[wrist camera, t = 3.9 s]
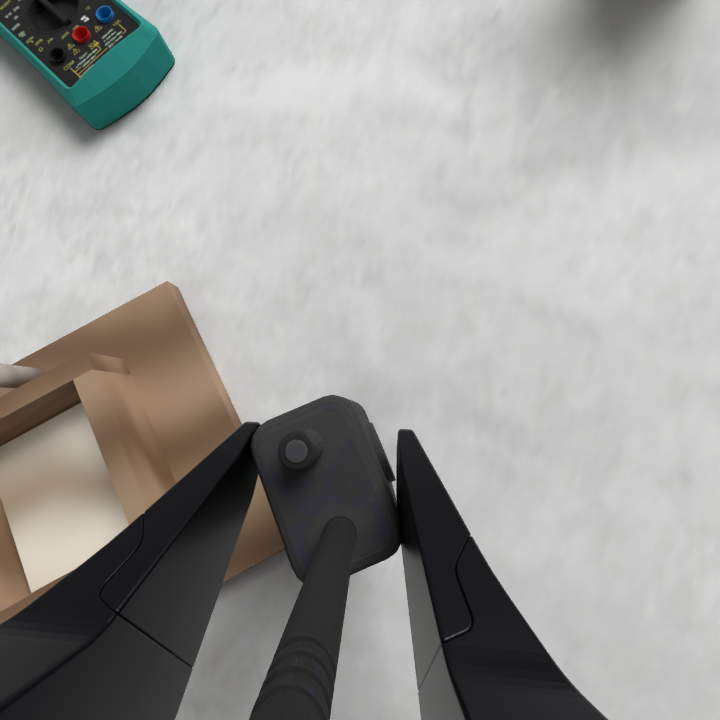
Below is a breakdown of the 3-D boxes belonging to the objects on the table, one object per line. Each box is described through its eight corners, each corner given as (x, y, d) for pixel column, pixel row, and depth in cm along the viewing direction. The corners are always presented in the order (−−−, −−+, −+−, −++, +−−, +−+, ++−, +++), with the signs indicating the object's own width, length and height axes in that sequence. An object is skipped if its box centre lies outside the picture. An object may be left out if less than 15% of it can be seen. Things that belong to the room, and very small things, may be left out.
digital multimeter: (108, 143, 22) (68, 103, 19) (-11, 26, 24) (-65, -26, 21) (187, 73, 23) (159, 23, 20) (63, -36, 25) (21, -95, 22)
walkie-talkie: (307, 420, 18) (0, 471, 3) (363, 396, 18) (317, 337, 3) (340, 505, 17) (139, 1083, 2) (398, 479, 17) (546, 893, 3)
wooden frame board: (294, 537, 17) (269, 576, 13) (-9, 705, 17) (-127, 796, 13) (177, 287, 20) (126, 257, 16) (-88, 430, 20) (-207, 436, 16)
